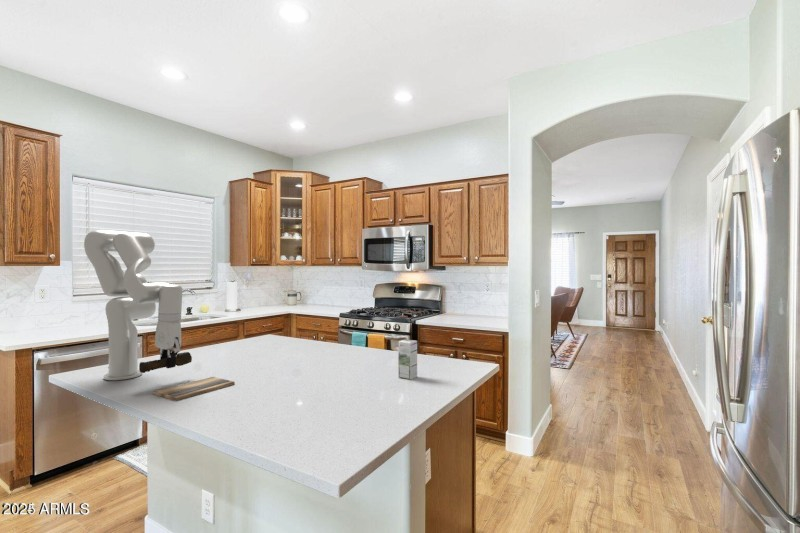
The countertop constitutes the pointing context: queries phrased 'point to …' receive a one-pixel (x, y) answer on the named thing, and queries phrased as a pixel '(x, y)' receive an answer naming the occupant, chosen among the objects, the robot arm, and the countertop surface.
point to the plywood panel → (193, 388)
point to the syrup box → (407, 359)
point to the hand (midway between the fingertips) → (167, 366)
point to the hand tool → (156, 364)
